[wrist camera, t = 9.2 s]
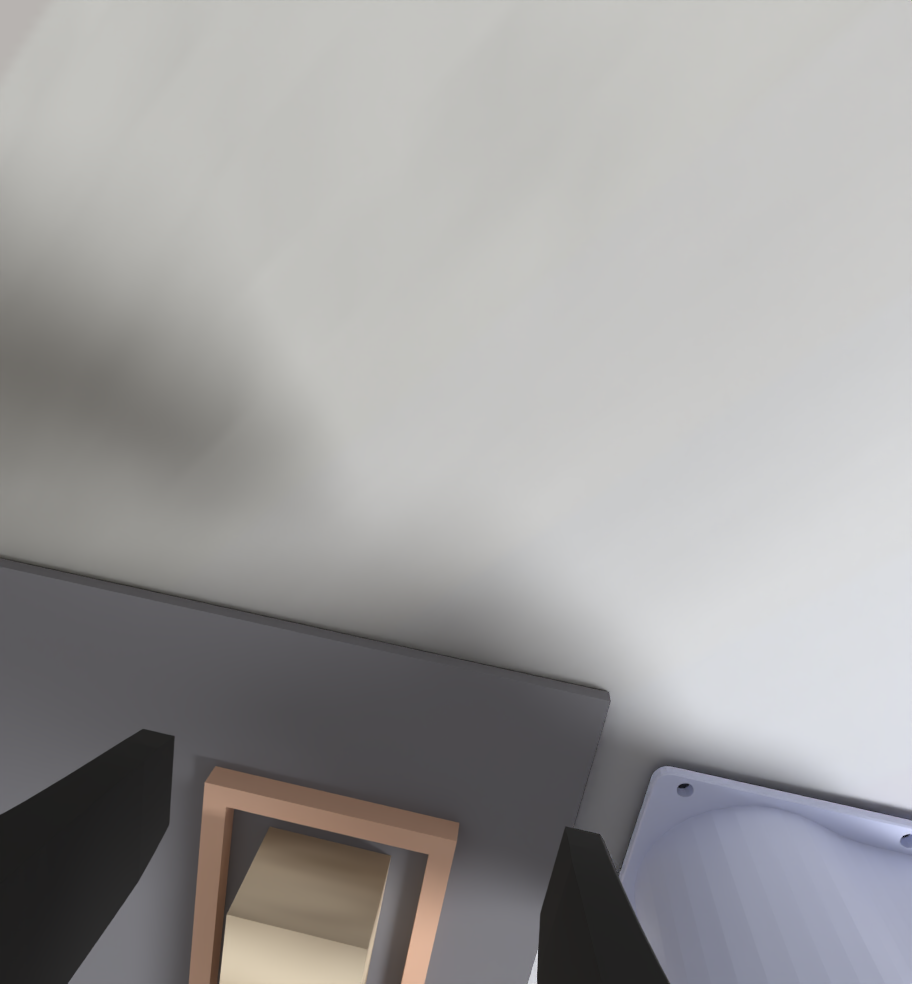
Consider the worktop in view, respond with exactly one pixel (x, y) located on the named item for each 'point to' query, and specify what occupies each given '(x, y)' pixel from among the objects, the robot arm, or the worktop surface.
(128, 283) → the worktop surface
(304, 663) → the rubber mat
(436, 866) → the terracotta frame
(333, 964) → the cream long block
